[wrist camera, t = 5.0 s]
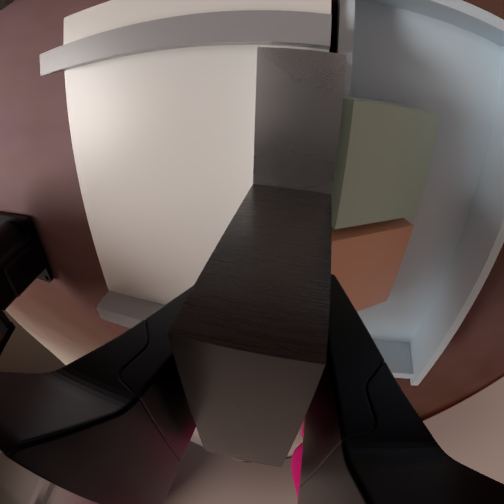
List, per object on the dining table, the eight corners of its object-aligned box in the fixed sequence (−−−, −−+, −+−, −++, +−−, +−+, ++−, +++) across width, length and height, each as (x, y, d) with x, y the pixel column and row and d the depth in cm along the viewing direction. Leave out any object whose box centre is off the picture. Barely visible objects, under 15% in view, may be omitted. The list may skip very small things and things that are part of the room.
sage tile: (317, 213, 11) (335, 229, 10) (331, 94, 9) (353, 100, 8) (399, 202, 13) (416, 215, 12) (418, 107, 10) (439, 115, 9)
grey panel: (261, 323, 15) (215, 476, 9) (276, 53, 8) (127, 19, 2) (301, 330, 15) (270, 488, 8) (339, 59, 8) (397, 20, 1)
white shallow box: (140, 291, 21) (108, 336, 17) (103, 18, 11) (39, 19, 7) (294, 322, 19) (283, 381, 15) (330, -2, 9) (332, -35, 5)
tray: (298, 328, 19) (290, 372, 16) (338, -11, 8) (341, -36, 6) (411, 342, 18) (417, 385, 15) (504, 40, 7) (546, 41, 4)
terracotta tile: (301, 308, 14) (313, 325, 13) (315, 225, 12) (332, 241, 11) (373, 286, 16) (387, 300, 15) (396, 212, 13) (413, 225, 12)
